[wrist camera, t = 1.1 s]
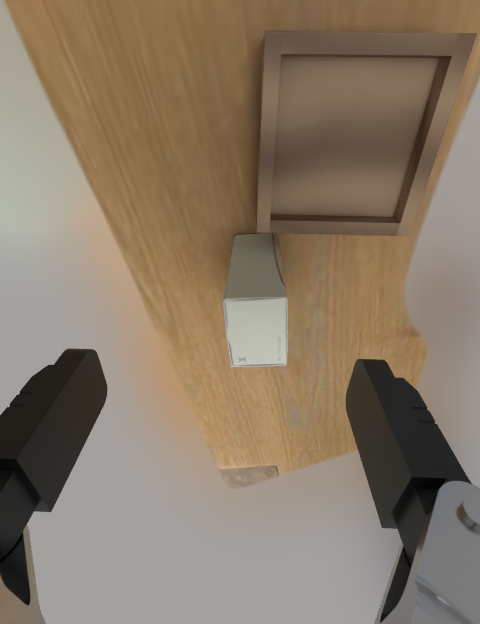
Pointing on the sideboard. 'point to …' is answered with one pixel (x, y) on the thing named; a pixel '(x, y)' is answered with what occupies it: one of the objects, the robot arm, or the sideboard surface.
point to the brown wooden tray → (352, 127)
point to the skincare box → (256, 302)
